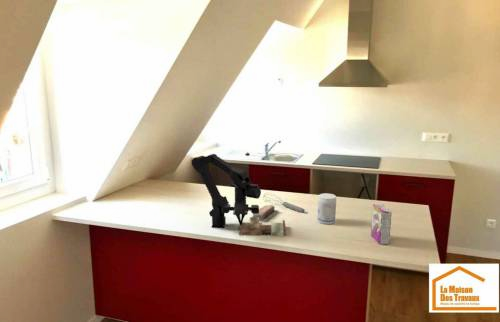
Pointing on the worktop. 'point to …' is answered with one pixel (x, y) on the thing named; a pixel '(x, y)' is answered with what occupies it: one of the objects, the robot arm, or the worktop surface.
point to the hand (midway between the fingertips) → (240, 224)
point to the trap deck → (263, 229)
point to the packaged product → (266, 213)
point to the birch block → (254, 223)
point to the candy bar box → (381, 224)
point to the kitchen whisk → (287, 205)
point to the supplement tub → (326, 208)
